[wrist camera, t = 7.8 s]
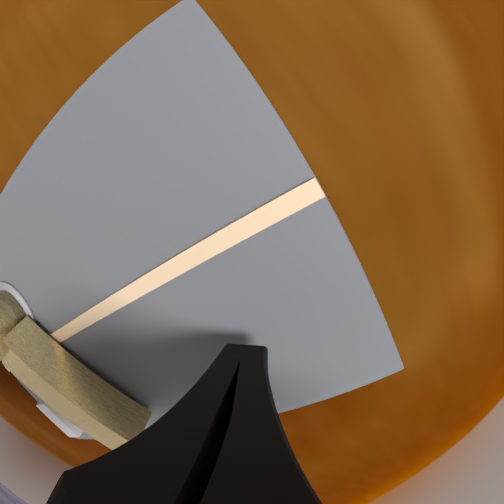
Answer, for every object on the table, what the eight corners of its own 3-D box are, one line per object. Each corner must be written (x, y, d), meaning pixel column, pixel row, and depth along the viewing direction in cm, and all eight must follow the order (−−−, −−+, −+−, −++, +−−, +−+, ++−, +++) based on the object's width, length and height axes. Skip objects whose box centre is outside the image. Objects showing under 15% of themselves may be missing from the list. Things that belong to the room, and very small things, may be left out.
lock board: (-36, 287, 15) (-60, 305, 12) (200, 5, 7) (165, -32, 4) (82, 430, 19) (67, 456, 16) (398, 352, 11) (415, 405, 9)
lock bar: (-4, 311, 13) (-33, 336, 10) (-3, 280, 11) (-37, 306, 9) (136, 425, 14) (118, 463, 12) (153, 409, 13) (134, 453, 10)
